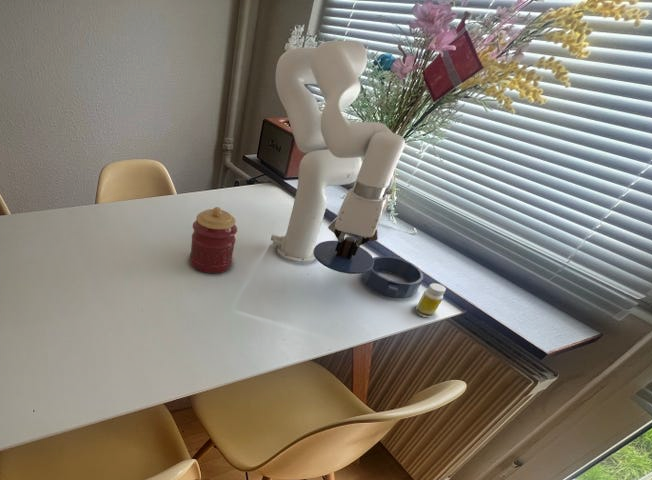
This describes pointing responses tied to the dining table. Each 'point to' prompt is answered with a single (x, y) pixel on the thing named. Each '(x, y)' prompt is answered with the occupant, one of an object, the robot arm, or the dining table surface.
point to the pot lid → (343, 257)
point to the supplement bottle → (430, 300)
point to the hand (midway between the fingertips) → (344, 254)
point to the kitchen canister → (213, 241)
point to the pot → (389, 286)
